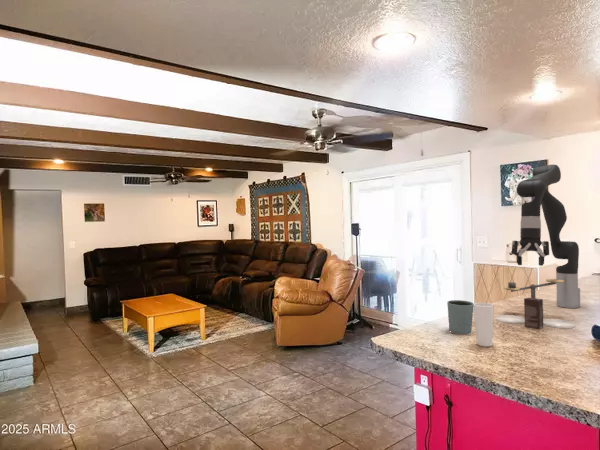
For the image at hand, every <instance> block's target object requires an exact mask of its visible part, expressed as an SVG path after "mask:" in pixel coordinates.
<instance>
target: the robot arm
mask: <svg viewBox="0 0 600 450" xmlns="http://www.w3.org/2000/svg"><path fill="white" fill-rule="evenodd" d="M561 179H562V172H561V168H560V166H559V165H558V164H547V165H541V166H537V167H534V168H533V170H532V177H530V178H527V179H523V180H522V181H519V182H518V184H517V186H516V193H517V195H518V196H519V197H521V198H533V200H531V201H528V202H525V203H522V204H521V209H520V210H521V213H520V215H521V217H520V229H519V230H520V232H519V233H520V234H519V235H520V240H512V242H511V243H512V244H511V255H514V256H516V264H517V265H518V266H522V265H523V256H522V255H523V254H524V253H525V252H535V253H536V254H537V255H538V266H541V267H542V266H544V265H545V257H546V256H550V248H551V253H552V256H553V257H554V258H555V259H557V260H567V263H565V264H563V265H559V266H558V265H557V266H556V267H555V272H556V273H555V277H556V278H555V279H559V280H564V282H563V283H556V284H555V285H556V288H555V289H556V307H561V308H567V309H577V308H581V288H580V287H579V274H578V273H579V258H580V257H579V255H580V250H579V249H580V248H579V244H578V243H577V242H576V241H570V240H569V241H564V240H563V241H562V240H561V238H560V235H561V232H562V230H563V227H564V226H565V224H566V222H567V219H568V218H567V217H568V216H567V212H566V209H565V206H564V204H563V202H561V201H560V200H559V199H557V198H556V197H555V196H554V195H553V194H552V193H550V192H549V190H548V188H547V187H549V186H550V185H552V184H557V183H559V182H560V181H561ZM541 209H542V212H543V217H544V220H545V224H546V227H547V231H548V237H549V240H546V241H545V240H544V241H541V240H542V239H541V237H542V233H541V232H542V220H541ZM549 241H550V243H549ZM519 246H520V247H519ZM541 246H542V248H541ZM518 247H519V249H518Z"/></svg>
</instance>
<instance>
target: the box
mask: <svg viewBox="0 0 600 450" xmlns="http://www.w3.org/2000/svg"><path fill="white" fill-rule="evenodd" d="M523 305H524V306H523V307H524V308H523V309H524V310H523V313H524V312H525V316H524V318H525V323H524V327H525V328H526V327H527V328H533V329H538V330H541V329H543V328H544V325H543V320H544V318H543V313H544V299H543V298H537V297H535V298H531V297H525V298H523Z"/></svg>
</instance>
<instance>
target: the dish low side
mask: <svg viewBox="0 0 600 450" xmlns="http://www.w3.org/2000/svg"><path fill="white" fill-rule="evenodd" d="M495 320H496V321H497V322H499V323H504V324H511V325H512V324H513V325H523V324H525V317H524V316H520V315H512V314H511V315H510V314H501V315H500V314H499V315H496V316H495Z"/></svg>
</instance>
